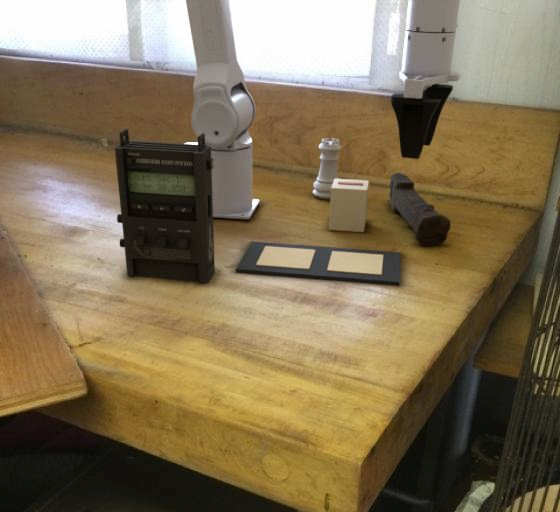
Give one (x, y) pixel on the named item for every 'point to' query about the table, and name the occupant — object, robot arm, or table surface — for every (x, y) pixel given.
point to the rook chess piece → (327, 168)
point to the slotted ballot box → (348, 205)
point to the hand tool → (417, 212)
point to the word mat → (321, 263)
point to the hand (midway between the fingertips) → (416, 150)
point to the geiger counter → (166, 209)
